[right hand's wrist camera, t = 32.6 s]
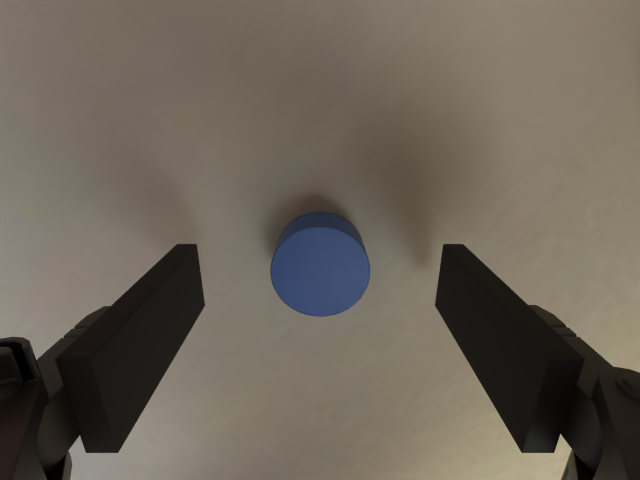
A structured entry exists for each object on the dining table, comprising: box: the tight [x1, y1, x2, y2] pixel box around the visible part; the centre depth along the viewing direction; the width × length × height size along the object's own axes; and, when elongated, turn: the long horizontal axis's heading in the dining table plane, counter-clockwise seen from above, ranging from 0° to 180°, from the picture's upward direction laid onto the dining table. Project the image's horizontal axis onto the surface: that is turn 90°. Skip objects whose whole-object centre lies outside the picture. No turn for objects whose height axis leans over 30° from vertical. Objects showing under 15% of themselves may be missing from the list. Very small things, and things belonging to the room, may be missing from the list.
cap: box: [271, 212, 370, 316], centre depth 15 cm, size 4×4×2 cm
